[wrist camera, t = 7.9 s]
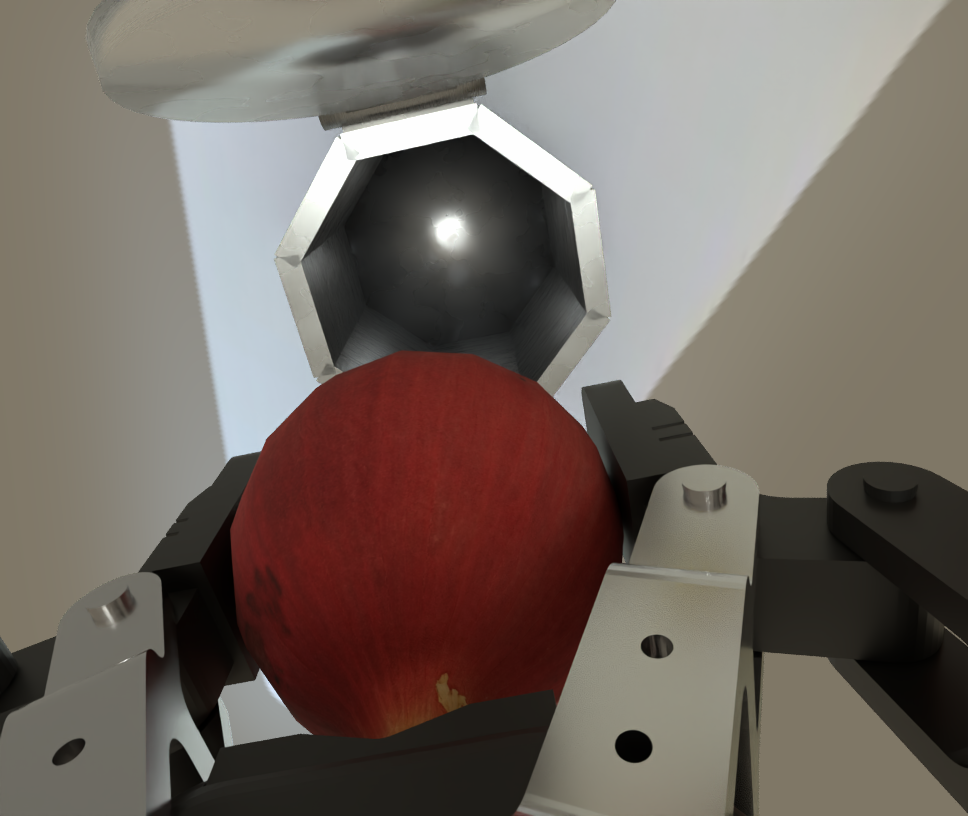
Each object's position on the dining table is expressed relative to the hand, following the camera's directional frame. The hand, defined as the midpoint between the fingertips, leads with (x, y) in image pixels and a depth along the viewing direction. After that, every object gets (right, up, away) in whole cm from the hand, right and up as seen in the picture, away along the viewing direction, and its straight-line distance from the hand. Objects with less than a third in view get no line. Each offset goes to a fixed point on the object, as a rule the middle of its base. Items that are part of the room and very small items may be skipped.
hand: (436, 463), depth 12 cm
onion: (0, +1, +1) cm, 1 cm away
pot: (-1, +10, +24) cm, 26 cm away
